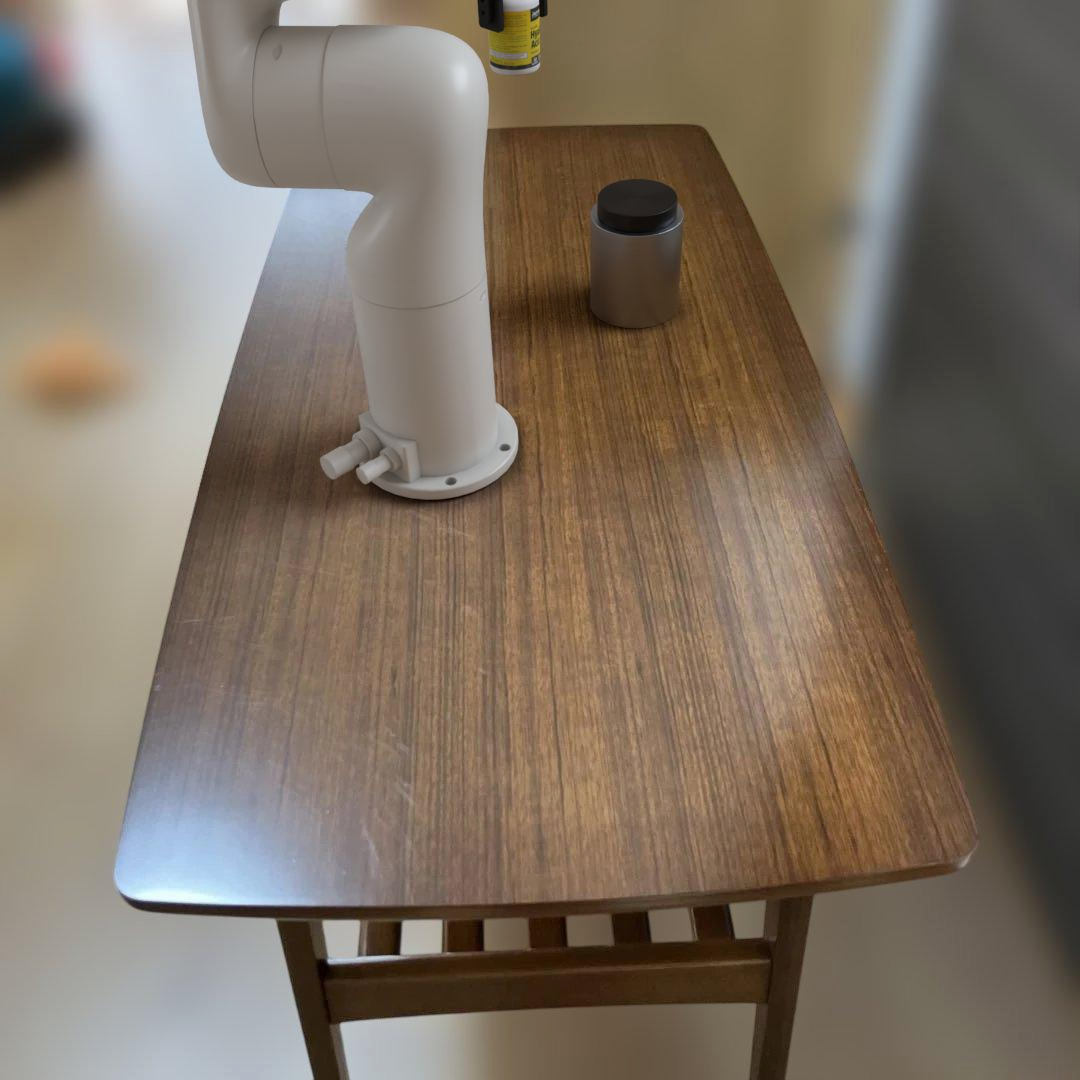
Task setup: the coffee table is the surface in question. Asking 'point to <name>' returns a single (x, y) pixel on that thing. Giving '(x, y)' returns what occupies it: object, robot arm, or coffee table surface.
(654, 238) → the canister
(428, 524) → the coffee table surface
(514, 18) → the supplement bottle
